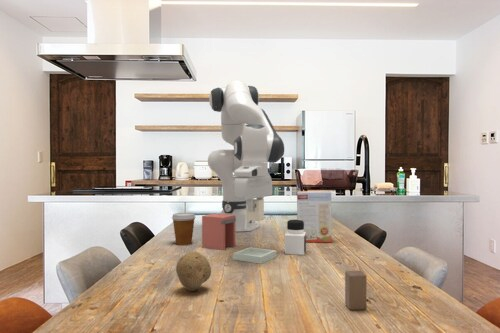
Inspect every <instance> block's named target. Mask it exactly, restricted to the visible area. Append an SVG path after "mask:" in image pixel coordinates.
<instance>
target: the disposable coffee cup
mask: <svg viewBox="0 0 500 333" xmlns="http://www.w3.org/2000/svg"><path fill="white" fill-rule="evenodd" d="M171 219H172V223H173V229H174V240H175V244H176V245H178V246H188V245H191V244H192V243H193V234H194V227H195V226H194V225H195V219H196V216H195V213H193V212H178V213H177V212H176V213H173V214H172V217H171Z"/></svg>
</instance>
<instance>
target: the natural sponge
mask: <svg viewBox="0 0 500 333" xmlns="http://www.w3.org/2000/svg"><path fill="white" fill-rule="evenodd" d="M175 271H176V274H177V278H178V280H179V282H180V284H181V285H182V286H183V287H184V288H185V289H186V290H187V291H189V292H194V291H197V290H198V289H199V288H200V287H201V286H202V285H203V284H204V283H205V282H207V281H208V280H209V279H210V277H211V275H212V267H211V263H210V262H209V260H208V258H207V257H206V256H205V255H203V254H202V253H200V252H197V251H190V252H187V253H185V254H183V255H182V256H181V257H180V258H179V259H178V260H177V263H176V267H175Z"/></svg>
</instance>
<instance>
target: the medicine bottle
mask: <svg viewBox="0 0 500 333" xmlns="http://www.w3.org/2000/svg"><path fill="white" fill-rule="evenodd" d="M286 225H287V226H286V232H285V234H284V254H285V255H292V254H294V255H295V256H297V255H298V256H305V254H306V250H307V242H306V232H303V231H304V222H303V221H302V220H297V218H296V219H289V220H288V221H287V222H286ZM294 255H293V256H294Z"/></svg>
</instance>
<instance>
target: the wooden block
mask: <svg viewBox="0 0 500 333" xmlns="http://www.w3.org/2000/svg"><path fill="white" fill-rule="evenodd" d="M344 288H345V289H344V290H345V291H344V293H345V294H344V300H345V301H344V304H345V305H346V307H347V308H348V310H350V311H359V310H360V311H365V310H367V275H366V274H365V273H364V272H363V271H361V270H346V271H345V273H344Z"/></svg>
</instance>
